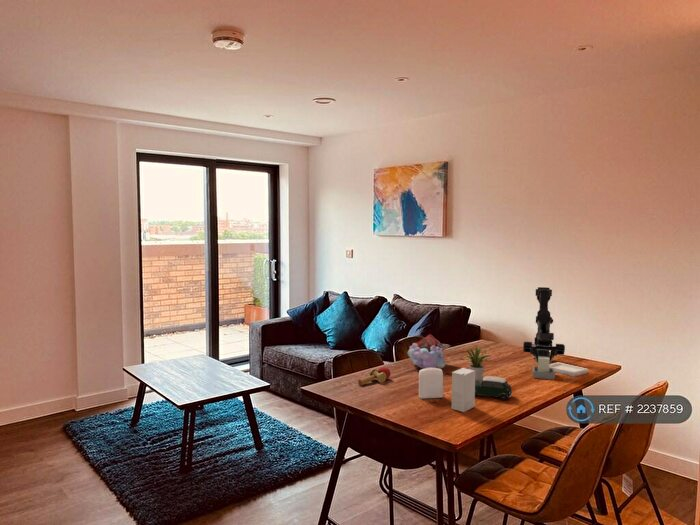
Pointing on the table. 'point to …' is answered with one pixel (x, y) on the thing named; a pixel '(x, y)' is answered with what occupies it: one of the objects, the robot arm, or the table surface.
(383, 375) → the kendama
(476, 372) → the house plant
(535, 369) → the holder
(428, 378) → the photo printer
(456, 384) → the skincare box
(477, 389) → the miniature car
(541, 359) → the sage block
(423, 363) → the lumpy lavender cluster
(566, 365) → the tray
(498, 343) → the table surface
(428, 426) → the table surface
